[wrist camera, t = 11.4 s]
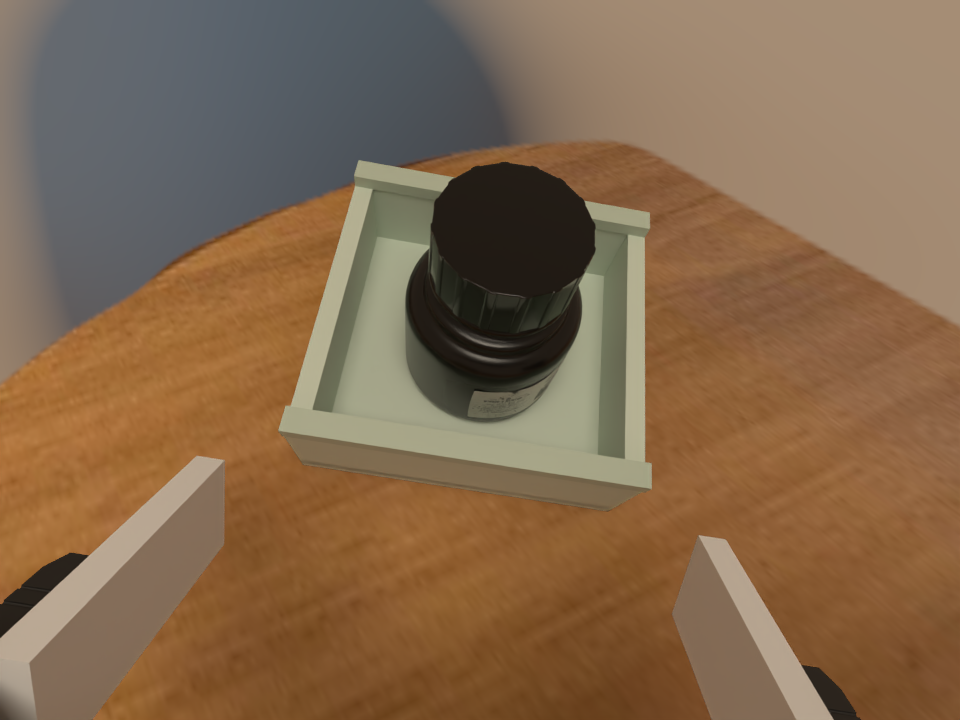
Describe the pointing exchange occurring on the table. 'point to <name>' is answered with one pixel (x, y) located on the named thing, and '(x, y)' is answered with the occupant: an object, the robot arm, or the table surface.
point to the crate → (437, 433)
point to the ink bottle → (497, 290)
